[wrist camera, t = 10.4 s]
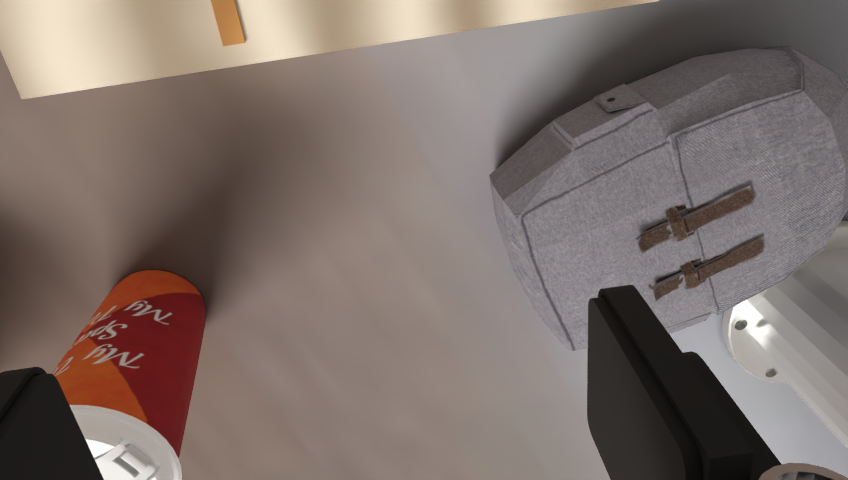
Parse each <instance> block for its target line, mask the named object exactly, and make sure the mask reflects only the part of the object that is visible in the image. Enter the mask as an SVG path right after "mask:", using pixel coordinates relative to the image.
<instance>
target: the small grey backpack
mask: <svg viewBox="0 0 848 480" xmlns="http://www.w3.org/2000/svg"><path fill="white" fill-rule="evenodd" d="M489 177H490V183H491V190H492V196H493V202H494V209H495V215H496V219H497V223H498V227H499V230H500V233H501V236H502V238H503V241H504V244H505V247H506V250H507V253H508V255H509V258H510V261H511V264H512V267H513V270H514V272H515V274H516V275H517V277H518V279H519V281H520V283H521V285H522V287H523V288H524V290H525V292H526V294H527V296H528V298H529V299H530V301H531V303H532V305H533V307H534V309H535V310H536V311H537V313H538V314H539V316H540V317H541V318H542V320H543V321H544V323H545V324H546V325H547V326H548V328H549V329H550V330H551V331H552V332H553V333H554V335H555V336H556V337H557V338H558V339H559V341H560V342H561V343H562V344H563V345H564V347H565V348H567V349H569V350H572V351H574V350H578V349H583V348H588V302H589V299H591V298H598V293H599V290H600V289H603V288H610V287H617V286H624V285H634V286H635V288H636V289H637V290H638V291H639V293H640V294H641V296H642V297H643V298H644V300H645V301H646V303H647V304H648V305H649V307H650V308H651V310H652V311H653V312H654V314H655V315H656V317H657V318H658V319H659V321H660V322H661V324H662V325H663V326H664V328H665V329H666V331H667V332H668V333H669V334H670V333H673V332H676V331H678V330H681V329H684V328H686V327H689V326H692V325H694V324H697V323H699V322H702V321H705V320H706V319H707V318H708V316H709V315H710V314H711V313H714V314H716V315H719V314H720V313H722V312H724V311H726V310H728V309H730V308H732V307H734V306H736V305H738V304H740V303H741V302H743V301H745V300H747V299H749V298H751V297H753V296H755V295H757V294H759V293H761V292H763V291H764V290H766V289H768V288H770V287H772V286H774V285H776V284H778V283H780V282H782V281H784V280H785V279H786V278H787V277H789V276H790V275H791V274H792V273H794V272H795V271H796V270H797V269H799V268H800V267H801V266H803V265H804V264H805V263H806V262H808V261H809V260H810V259H811V258H813V257H814V256H815V255H816V254H818V253H819V252H820V251H821V250H823V249H824V248H825V246H826V244H827V243H828V241H829V239H830V238H831V236H832V234H833V233H834V231H835V230H836V228H837V226H838V225H839V223H840V222H841V220H842V219H843V217H844V215H845V214H846V212H847V211H848V89H847V88H846V86H845V85H844V83H843V82H842V80H841V79H840V78H839V76H838V75H837V74H836V73H834V72H833V71H831V70H829V69H827V68H826V67H824V66H822V65H821V64H819V63H817V62H815V61H814V60H812V59H810V58H808V57H807V56H805V55H803V54H802V53H800V52H798V51H796V50H795V49H793V48H791V47H789V46H780V47H761V48H747V49H741V50H734V51H728V52H722V53H716V54H710V55H703V56H697V57H693V58H690V59H688V60H685V61H683V62H681V63H678V64H676V65H673V66H671V67H669V68H666V69H664V70H661V71H659V72H656V73H654V74H652V75H649V76H647V77H644V78H642V79H639V80H637V81H635V82H632V83H630V84H627V85H625V84H624V83H623V84H621V85H619V86H617V87H615V88H612V89H610V90H608V91H606V92H604V93H602V94H599V95H597V96H595V97H594V99H592V100H590V101H588V102H586V103H584V104H582V105H581V106H579V107H577V108H575V109H573V110H571V111H569V112H567V113H565V114H563V115H561V116H559V117H557V118H556V119H554V120H553V121H552V122H551V123H549V124H547V125H546V126H545V127H544V128H543V129H542V130H540V131H539V132H538V133H537V134H536V135H535V136H534V137H532V138H531V139H530V140H529V141H528V142H527V143H526V144H524V145H523V146H522V147H521V148H520V149H519V150H518V151H516V152H515V153H514V154H513V155H512V156H511V157H510V158H508V159H507V160H506V161H505V162H504V163H503V164H502V165H500V166H499V167H498V168H497V169H496V170H495V171H494V172H493V173H491V174H490V175H489Z"/></svg>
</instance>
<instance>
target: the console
mask: <svg viewBox="0 0 848 480" xmlns="http://www.w3.org/2000/svg"><path fill="white" fill-rule="evenodd" d="M656 1H659V0H0V50H1V52H2V55H3V57H4V59H5V61H6V64H7V66H8V68H9V71H10V73H11V75H12V78H13V80H14V82H15V85H16V87H17V89H18V92H19V94H20V96H21V99H27V98H34V97H40V96H47V95H53V94H60V93H66V92H73V91H79V90H86V89H92V88H99V87H105V86H112V85H118V84H125V83H131V82H138V81H144V80H151V79H157V78H164V77H170V76H177V75H183V74H190V73H196V72H202V71H209V70H215V69H222V68H228V67H235V66H241V65H248V64H254V63H261V62H267V61H274V60H280V59H287V58H293V57H300V56H306V55H313V54H319V53H326V52H332V51H339V50H345V49H352V48H358V47H365V46H371V45H377V44H384V43H390V42H397V41H403V40H410V39H416V38H423V37H429V36H436V35H442V34H449V33H455V32H462V31H468V30H475V29H481V28H488V27H494V26H501V25H507V24H514V23H520V22H527V21H533V20H540V19H546V18H553V17H559V16H565V15H572V14H578V13H585V12H591V11H598V10H604V9H611V8H617V7H624V6H630V5H637V4H643V3H650V2H656Z"/></svg>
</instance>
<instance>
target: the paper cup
mask: <svg viewBox="0 0 848 480" xmlns="http://www.w3.org/2000/svg"><path fill="white" fill-rule="evenodd" d="M205 319H206V307H205V303H204V300H203V298H202V296H201V294H200V292H199V291H198V290H197V289H196V287H195V286H194V285H193V284H191V283H190V282H189V281H188V280H186V279H185V278H183V277H181V276H179V275H177V274H174V273H171V272H168V271H163V270H143V271H139V272H135V273H133V274H130V275H128V276H127V277H125V278H123V279H122V280H121V281H120V282H119V283H118V284H117V285H116V286H115V287H114V288H113V289H112V291H111V292H110V293H109V294H108V296H107V297H106V298H105V300H104V301H103V302H102V304H101V305H100V307H99V308H98V309H97V311H96V312H95V314H94V315H93V316H92V318H91V319H90V321H89V322H88V323H87V325H86V326H85V328H84V329H83V330H82V332H81V333H80V335H79V336H78V338H77V339H76V340H75V342H74V343H73V345H72V346H71V347H70V349H69V350H68V352H67V353H66V355H65V356H64V357H63V359H62V360H61V362H60V363H59V365H58V366H57V368H56V369H55V370H54V372H53V373H52V374H53V375H54V376H55V377H56V378H57V380H58V382H59V384H60V386H61V388H62V391H63V393H64V395H65V397H66V399H67V401H68V403H69V406H70V408H71V410H72V412H73V414H74V416H75V418H76V421H77V423H78V425H79V427H80V429H81V431H82V433H83V436H84V438H85V440H86V442H87V444H88V446H89V449H90V451H91V453H92V455H93V457H94V459H95V461H96V464H97V466H98V468H99V470H100V472H101V474H102V476H103V479H104V480H182V474H181V466H180V462H179V455H180V450H181V445H182V440H183V435H184V430H185V425H186V420H187V415H188V410H189V405H190V400H191V395H192V390H193V385H194V380H195V375H196V370H197V365H198V360H199V354H200V349H201V344H202V339H203V333H204V327H205Z"/></svg>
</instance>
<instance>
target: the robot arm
mask: <svg viewBox="0 0 848 480" xmlns="http://www.w3.org/2000/svg"><path fill="white" fill-rule="evenodd" d="M722 327H723V338H724V341H725V344H726V347H727V349H728V351H729V352H730V354H731V355H732V357H733V358H734V359H735V360H736V361H737V363H738V364H739V365H740V366H741V367H742V368H743V369H744V370H745V371H747V372H748V373H750V374H751V375H753V376H754V377H757V378H759V379H762V380H764V381H768V382H775V383H788V385H789V386H790V387H791V388H792V389H793V390H794V391H795V392H796V393H797V394H798V395H799V397H800V398H801V399H802V400H803V401H804V402H805V403H806V404H807V405H808V406H809V407H810V409H811V410H812V411H813V412H814V413H815V414H816V415H817V416H818V417H819V418H820V419H821V421H822V422H823V423H824V424H825V425H826V426H827V427H828V428H829V429H830V430H831V432H832V433H833V434H834V435H835V436H836V437H837V438H838V439H839V440H840V441H841V442H842V444H843V445H844V446H845V447H846V448H847V449H848V221H841V222H840V223H839V225H838V226H837V228H836V230H835V231H834V233H833V234H832V236H831V238H830V239H829V241H828V243H827V244H826V246H825V248H824V249H823V250H821V251H820V252H819V253H818V254H816V255H815V256H814V257H813V258H811V259H810V260H809V261H808V262H806V263H805V264H804V265H803V266H801V267H800V268H799V269H797V270H796V271H795V272H794V273H792V274H791V275H790V276H789V277H787V278H786V279H785V280H784V281H782V282H780V283H778V284H776V285H774V286H772V287H770V288H768V289H766V290H764V291H763V292H761V293H759V294H757V295H755V296H753V297H751V298H749V299H747V300H745V301H743V302H741V303H740V304H738V305H736V306H734V307H732V308H730V309H728V310H726V311H724V315H723V321H722ZM587 416H588V424H589V428H590V432H591V435H592V437H593V440H594V442H595V444H596V446H597V449H598V451H599V453H600V456H601V458H602V460H603V463H604V465H605V467H606V470H607V472H608V474H609V477H610V479H611V480H848V478H847V477H845V476H843V475H841V474H838V473H836V472H834V471H831V470H829V469H827V468H824V467H819V466H815V465H811V464H804V463H787V464H783V465H782V464H781V463H780V462H779V460H778V459H777V458H776V456H775V455H774V454H773V452H772V451H771V450H770V449H769V447H768V446H767V445H766V443H765V442H764V441H763V439H762V438H761V437H760V435H759V434H758V433H757V431H756V430H755V429H754V427H753V426H752V425H751V423H750V422H749V421H748V419H747V418H746V417H745V415H744V414H743V413H742V411H741V410H740V409H739V407H738V406H737V405H736V403H735V402H734V401H733V399H732V398H731V397H730V395H729V394H728V393H727V391H726V390H725V389H724V387H723V386H722V385H721V383H720V382H719V381H718V379H717V378H716V377H715V375H714V374H713V373H712V371H711V370H710V369H709V367H708V366H707V365H706V363H705V362H704V361H703V359H702V358H701V357H700V356H699V355H698V354H697V353H694V352H685V353H682V351H681V350H680V349H679V347H678V346H677V344H676V343H675V342H674V340H673V339H672V338H671V336H670V335H669V333H668V332H667V331H666V329H665V328H664V326H663V325H662V324H661V322H660V321H659V319H658V318H657V317H656V315H655V314H654V312H653V311H652V310H651V308H650V307H649V305H648V304H647V303H646V301H645V300H644V298H643V297H642V296H641V294H640V293H639V291H638V290H637V289H636V288H635V286H634V285H624V286H617V287H610V288H603V289H600V290H599V293H598V298H591V299H589V302H588V391H587ZM0 480H104V479H103V476H102V474H101V472H100V470H99V468H98V466H97V464H96V461H95V459H94V457H93V455H92V453H91V451H90V449H89V446H88V444H87V442H86V440H85V438H84V436H83V433H82V431H81V429H80V427H79V425H78V423H77V421H76V418H75V416H74V414H73V412H72V410H71V408H70V406H69V403H68V401H67V399H66V397H65V395H64V393H63V391H62V388H61V386H60V384H59V382H58V380H57V378H56V377H55V376H54V375H53V374H47V373H46V372H45V371H44V370H43V369H42V368H39V367H32V368H25V369H18V370H11V371H5V372H2V373H0Z"/></svg>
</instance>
